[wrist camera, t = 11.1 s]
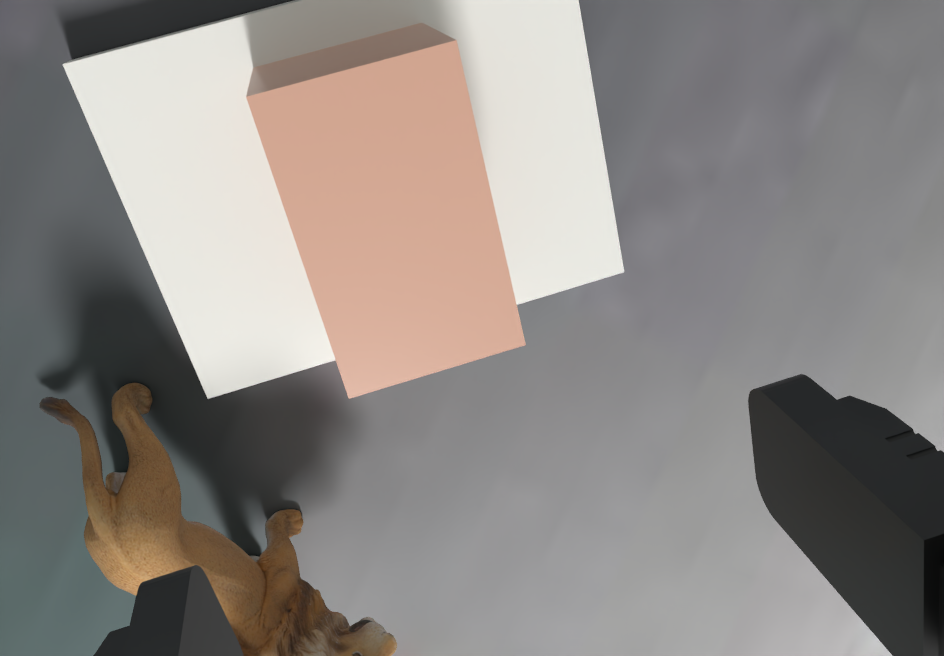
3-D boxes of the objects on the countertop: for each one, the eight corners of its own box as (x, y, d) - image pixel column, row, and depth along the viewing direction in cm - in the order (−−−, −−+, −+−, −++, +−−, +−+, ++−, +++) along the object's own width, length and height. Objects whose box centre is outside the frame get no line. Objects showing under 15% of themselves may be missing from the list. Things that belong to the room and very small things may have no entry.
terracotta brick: (422, 22, 27) (456, 39, 22) (483, 277, 31) (525, 344, 26) (253, 67, 27) (246, 96, 21) (337, 320, 31) (349, 398, 25)
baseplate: (555, -70, 28) (566, -71, 27) (613, 261, 33) (624, 272, 32) (71, 59, 27) (62, 64, 26) (210, 384, 32) (207, 399, 31)
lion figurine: (395, 538, 36) (428, 704, 28) (315, 620, 37) (324, 804, 29) (87, 342, 30) (17, 484, 22) (-1, 447, 31) (-98, 618, 23)
